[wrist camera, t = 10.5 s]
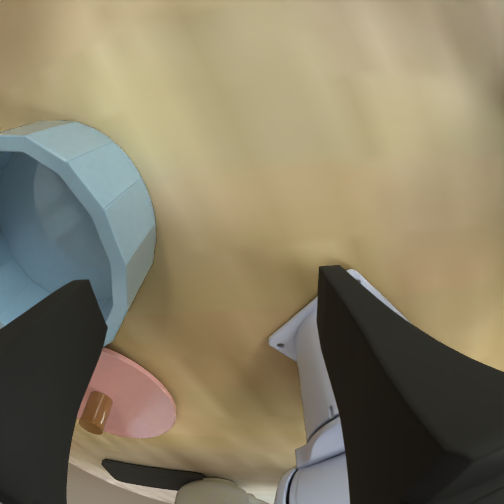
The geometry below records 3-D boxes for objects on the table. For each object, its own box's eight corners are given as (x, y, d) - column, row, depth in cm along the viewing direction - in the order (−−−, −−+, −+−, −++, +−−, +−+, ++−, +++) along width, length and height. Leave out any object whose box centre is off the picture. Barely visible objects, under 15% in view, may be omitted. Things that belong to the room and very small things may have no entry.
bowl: (167, 127, 16) (131, 142, 11) (153, 323, 22) (133, 379, 17) (-9, 121, 15) (-63, 137, 10) (9, 285, 21) (-26, 324, 16)
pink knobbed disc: (180, 357, 24) (169, 403, 20) (176, 441, 30) (170, 475, 26) (25, 316, 23) (0, 350, 18) (59, 408, 29) (46, 438, 25)
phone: (208, 493, 37) (116, 480, 37) (209, 489, 38) (117, 476, 38) (201, 477, 34) (98, 461, 34) (202, 471, 34) (99, 457, 34)
